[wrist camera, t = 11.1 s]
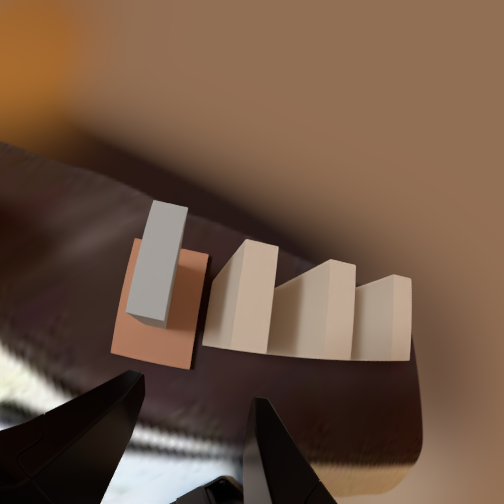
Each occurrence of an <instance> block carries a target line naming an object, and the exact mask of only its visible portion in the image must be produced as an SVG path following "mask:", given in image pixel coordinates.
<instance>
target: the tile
mask: <svg viewBox="0 0 504 504" xmlns="http://www.w3.org/2000/svg"><path fill="white" fill-rule="evenodd" d="M141 242H142V240H141V239H136V238H135V241H134V244H133V248H132V252H131V256H130V260H129V264H128V268H127V272H126V276H125V280H124V285H123V289H122V294H121V299H120V304H119V309H118V314H117V319H116V324H115V330H114V336H113V342H112V348H111V353H114V354H118V355H122V356H126V357H130V358H134V359H139V360H143V361H148V362H152V363H157V364H162V365H167V366H173V367H178V368H184V369H190V364H191V357H192V350H193V344H194V337H195V331H196V324H197V318H198V312H199V306H200V300H201V294H202V288H203V283H204V277H205V271H206V266H207V261H208V254H204V253H199V252H195V251H190V250H185V249H181V250H180V256H179V263H178V268H177V273H176V278H175V283H174V288H173V293H172V298H171V304H170V309H169V315H168V321H167V326H166V329H163V328H158V327H153V326H149V325H145V324H143V323H142V322H140V321H138V320H137V319H135V318H134V317H132V316H131V315H129V314H128V313H126V307H127V302H128V297H129V292H130V288H131V283H132V279H133V274H134V270H135V266H136V262H137V258H138V254H139V250H140V246H141Z"/></svg>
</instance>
